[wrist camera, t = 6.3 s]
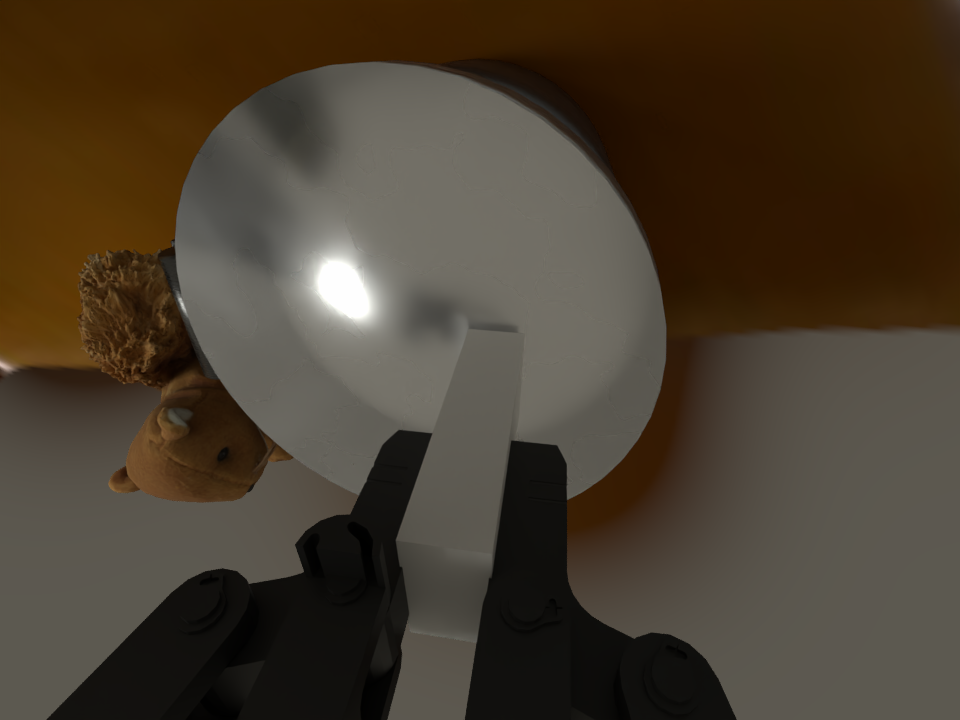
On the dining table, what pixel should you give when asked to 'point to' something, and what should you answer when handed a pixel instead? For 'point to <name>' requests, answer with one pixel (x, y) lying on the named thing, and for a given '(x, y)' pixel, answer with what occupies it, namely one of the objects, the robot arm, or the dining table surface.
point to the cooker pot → (536, 98)
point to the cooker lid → (413, 265)
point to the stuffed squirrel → (167, 388)
